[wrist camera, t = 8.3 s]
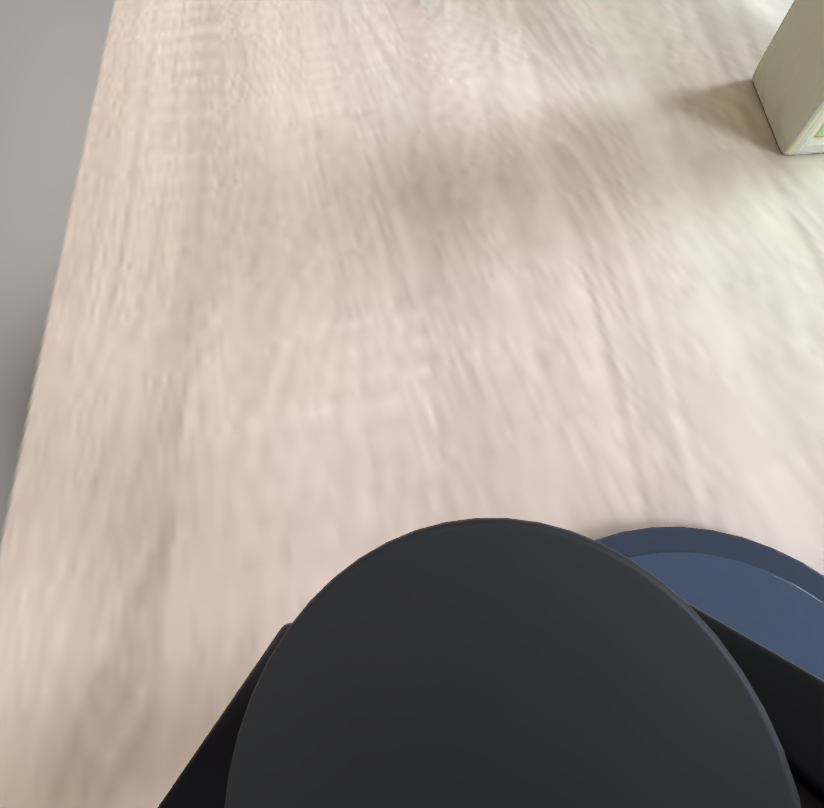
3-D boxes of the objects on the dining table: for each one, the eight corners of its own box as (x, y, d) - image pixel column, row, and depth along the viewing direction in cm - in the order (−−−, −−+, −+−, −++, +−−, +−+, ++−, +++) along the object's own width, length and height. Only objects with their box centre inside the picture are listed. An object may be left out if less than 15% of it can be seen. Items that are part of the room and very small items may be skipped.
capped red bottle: (526, 816, 13) (981, 1866, 2) (335, 734, 14) (-70, 1148, 3) (572, 606, 15) (945, 553, 4) (401, 545, 16) (306, 361, 5)
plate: (928, 1379, 13) (946, 1405, 13) (357, 876, 18) (354, 883, 17) (1054, 705, 19) (1069, 707, 18) (589, 449, 23) (592, 446, 23)
